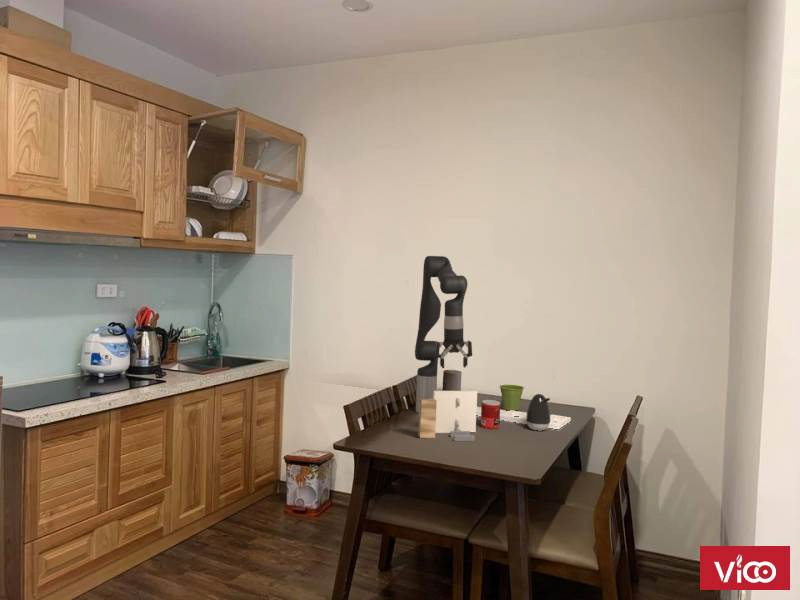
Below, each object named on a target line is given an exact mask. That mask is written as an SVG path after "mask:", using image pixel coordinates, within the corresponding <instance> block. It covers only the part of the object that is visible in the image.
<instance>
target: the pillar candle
mask: <svg viewBox="0 0 800 600" xmlns="http://www.w3.org/2000/svg"><path fill="white" fill-rule="evenodd" d="M442 372H443V374H442V390H441V391H462V390H461V389H462V388H461V387H462V375H463V374H462V371H460V370H456V369H453V368H451V369H444V370H443V371H442Z"/></svg>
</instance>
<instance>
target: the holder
mask: <svg viewBox="0 0 800 600" xmlns="http://www.w3.org/2000/svg"><path fill="white" fill-rule="evenodd" d="M476 415H478V416H477V417H479V416H481V406H480V407H479V406H477V410H476ZM526 415H527V411H526V412H525V411H519V410H518V411H513V410H510V411H506V410H505V409H500V421H502V420H504V422H508V421H509V422H510V423H513V422H516V423H515V424H519V423H522V424H521V425H525V424H527V421H526ZM514 416H519V417H514ZM570 421H571V422H572V417H571V416H570V417H569V416H563V415H558V414H550V423H549V426H548V428H553V429H552V430H554V429H560V428H561V427H563V426H564V425H566V424H567V423H569V422H570ZM509 422H508V423H509ZM569 424H570V423H569ZM566 426H567V425H566ZM548 428H547V429H548ZM563 428H564V427H563ZM561 429H562V428H561ZM561 429H560V430H561Z"/></svg>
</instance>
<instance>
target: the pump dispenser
mask: <svg viewBox="0 0 800 600" xmlns="http://www.w3.org/2000/svg"><path fill="white" fill-rule="evenodd" d="M550 400H551V399H550V397H545V395H543V394H541V393H537V394H535V395H533V397H532V399H531V400H530V401H529V404H528V407H527V410H526V413H527V415H526V421H527V425H526V426H528V427H529V429H530V430H533V431H536V430H538V431H537V432H542V430H543V431H545V430H547V429H548V426H549V423H550V415H551V412H550V411H551V410H550V407H549V403H548V402H549V401H550Z"/></svg>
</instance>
